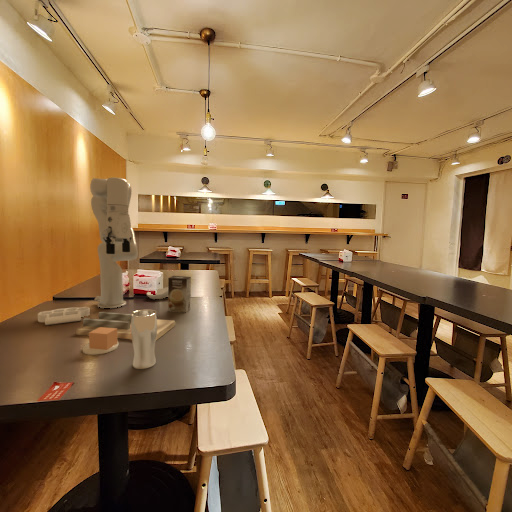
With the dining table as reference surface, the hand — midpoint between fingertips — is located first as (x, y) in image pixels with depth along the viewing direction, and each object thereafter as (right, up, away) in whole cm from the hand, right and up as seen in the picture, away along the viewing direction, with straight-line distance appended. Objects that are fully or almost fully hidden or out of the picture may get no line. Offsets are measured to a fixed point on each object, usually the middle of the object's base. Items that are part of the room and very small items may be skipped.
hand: (118, 252), depth 109 cm
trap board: (+7, -29, -7) cm, 31 cm away
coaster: (+6, -31, -22) cm, 38 cm away
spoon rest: (+6, -25, +44) cm, 51 cm away
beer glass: (+24, -32, -32) cm, 51 cm away
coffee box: (+19, -27, +20) cm, 39 cm away
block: (+7, -30, -23) cm, 38 cm away
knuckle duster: (-25, -28, +4) cm, 38 cm away
